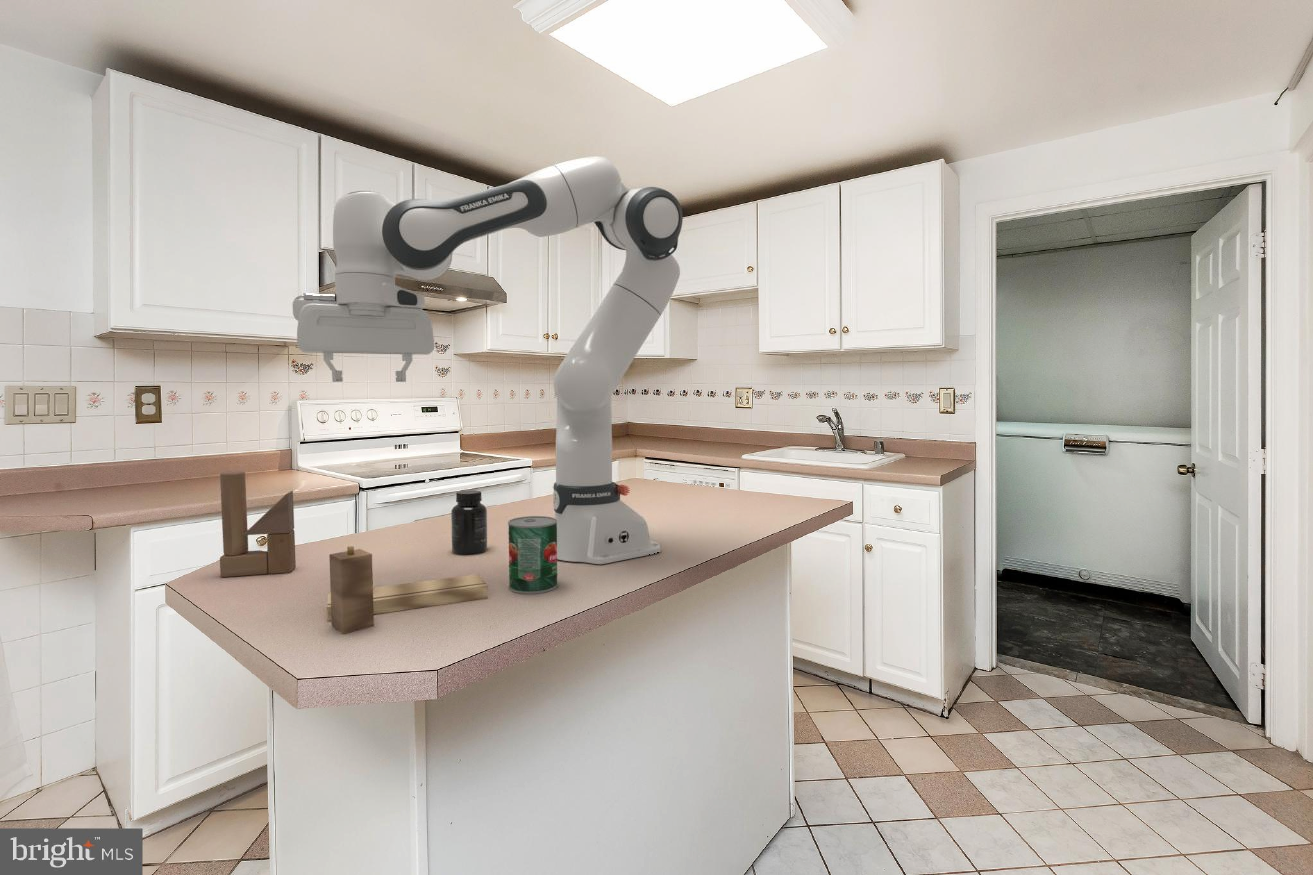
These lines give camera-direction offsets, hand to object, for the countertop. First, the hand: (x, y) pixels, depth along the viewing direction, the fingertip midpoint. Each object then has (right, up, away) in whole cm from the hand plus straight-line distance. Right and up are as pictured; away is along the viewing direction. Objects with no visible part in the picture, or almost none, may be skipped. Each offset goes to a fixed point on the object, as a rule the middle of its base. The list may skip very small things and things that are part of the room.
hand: (369, 381), depth 101 cm
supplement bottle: (+9, -32, +23) cm, 41 cm away
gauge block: (+5, -35, -17) cm, 39 cm away
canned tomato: (+27, -34, +1) cm, 43 cm away
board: (+9, -34, -7) cm, 36 cm away
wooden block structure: (-23, -33, +8) cm, 41 cm away
